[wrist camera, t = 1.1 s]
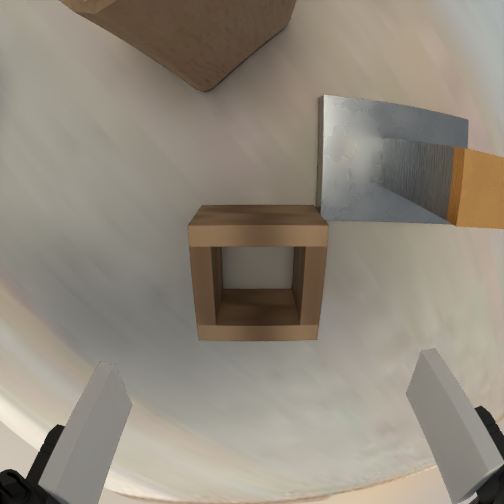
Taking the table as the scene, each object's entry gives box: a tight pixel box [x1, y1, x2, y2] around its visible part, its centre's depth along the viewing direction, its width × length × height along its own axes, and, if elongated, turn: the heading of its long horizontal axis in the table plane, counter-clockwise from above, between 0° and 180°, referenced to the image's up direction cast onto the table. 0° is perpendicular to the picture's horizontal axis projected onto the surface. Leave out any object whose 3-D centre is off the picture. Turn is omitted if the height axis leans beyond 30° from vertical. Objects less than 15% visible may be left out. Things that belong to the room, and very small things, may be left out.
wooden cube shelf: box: [188, 205, 329, 341], centre depth 25 cm, size 10×10×6 cm
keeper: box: [316, 95, 504, 229], centre depth 19 cm, size 14×10×13 cm
